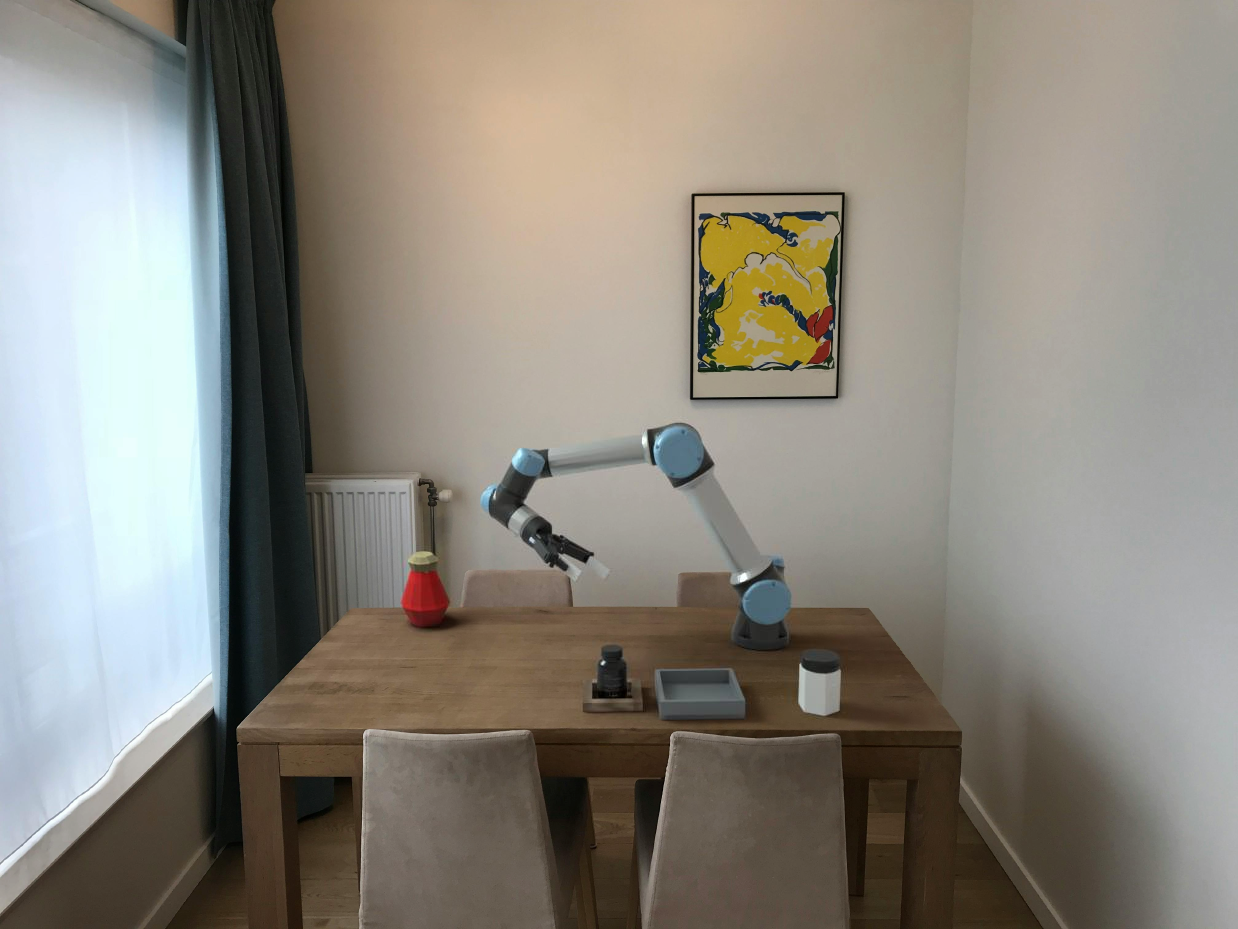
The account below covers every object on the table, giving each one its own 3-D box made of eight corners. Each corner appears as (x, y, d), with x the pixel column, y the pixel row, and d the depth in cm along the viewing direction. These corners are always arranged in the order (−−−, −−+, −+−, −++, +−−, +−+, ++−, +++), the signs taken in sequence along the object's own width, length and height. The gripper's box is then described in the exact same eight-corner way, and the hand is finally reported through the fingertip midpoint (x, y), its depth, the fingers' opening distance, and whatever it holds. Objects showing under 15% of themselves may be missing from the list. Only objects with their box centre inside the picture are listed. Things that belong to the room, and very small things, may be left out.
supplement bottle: (596, 693, 197) (595, 642, 195) (626, 692, 197) (625, 641, 195) (597, 706, 190) (597, 653, 188) (628, 704, 190) (628, 652, 189)
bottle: (459, 625, 243) (457, 556, 240) (413, 634, 235) (410, 563, 232) (437, 611, 256) (435, 545, 253) (393, 619, 248) (390, 551, 245)
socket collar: (639, 686, 200) (639, 678, 200) (642, 711, 187) (642, 702, 187) (583, 687, 200) (583, 679, 199) (582, 711, 187) (582, 703, 187)
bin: (731, 684, 201) (732, 668, 200) (745, 718, 183) (745, 700, 183) (654, 685, 201) (654, 669, 200) (660, 719, 183) (660, 702, 182)
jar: (818, 719, 183) (819, 665, 181) (790, 706, 189) (792, 653, 188) (847, 709, 188) (849, 656, 186) (819, 696, 194) (821, 645, 193)
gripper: (551, 541, 224) (611, 587, 214) (493, 540, 202) (558, 591, 192) (565, 516, 223) (626, 562, 213) (508, 512, 201) (574, 563, 191)
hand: (594, 576), depth 203 cm, fingers open, 13 cm apart
